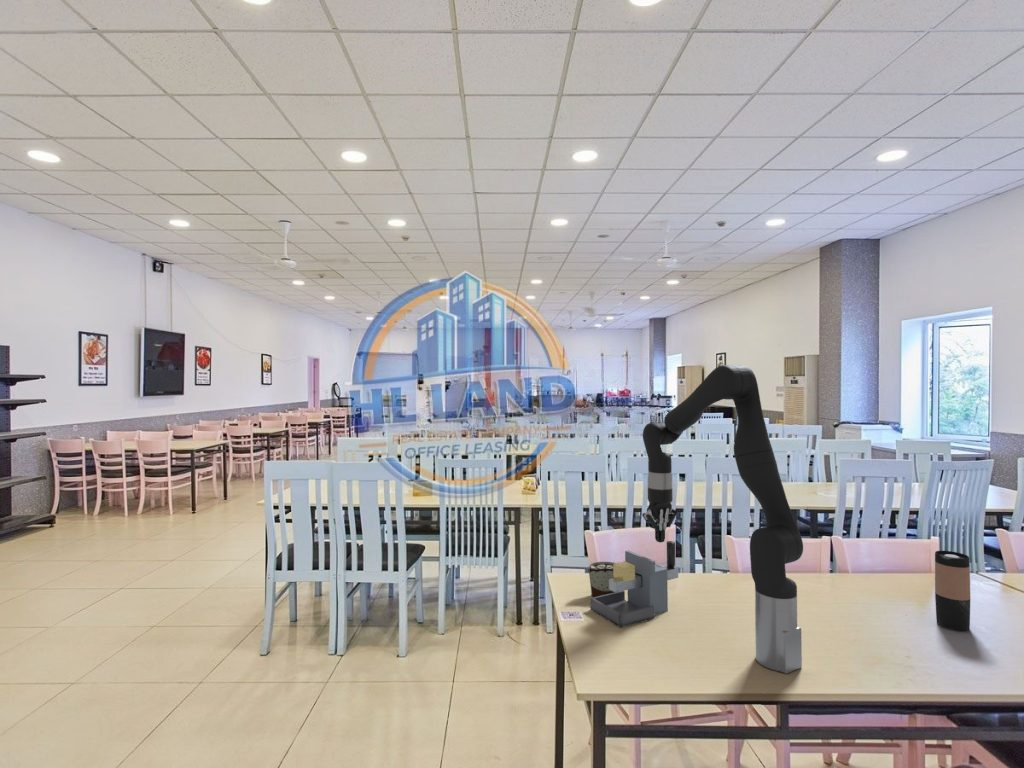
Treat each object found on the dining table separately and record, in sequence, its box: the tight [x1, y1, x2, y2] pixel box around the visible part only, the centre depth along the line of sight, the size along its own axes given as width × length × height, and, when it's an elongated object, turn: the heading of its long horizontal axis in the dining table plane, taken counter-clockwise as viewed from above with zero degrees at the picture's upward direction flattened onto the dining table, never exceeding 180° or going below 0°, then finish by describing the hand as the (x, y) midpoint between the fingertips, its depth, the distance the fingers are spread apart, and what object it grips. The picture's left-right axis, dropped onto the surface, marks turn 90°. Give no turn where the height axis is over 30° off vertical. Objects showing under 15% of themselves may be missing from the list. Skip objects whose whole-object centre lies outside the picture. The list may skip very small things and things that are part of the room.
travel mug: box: [934, 550, 971, 633], centre depth 148 cm, size 8×8×20 cm
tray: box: [590, 590, 655, 629], centre depth 157 cm, size 14×13×4 cm
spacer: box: [613, 560, 635, 582], centre depth 158 cm, size 4×4×4 cm
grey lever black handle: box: [609, 540, 679, 593], centre depth 162 cm, size 3×25×11 cm, turn 118°
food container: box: [586, 561, 616, 598], centre depth 172 cm, size 12×6×10 cm, turn 84°
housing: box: [624, 550, 669, 615], centre depth 162 cm, size 12×7×16 cm, turn 28°
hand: (660, 541), depth 165 cm, fingers closed
